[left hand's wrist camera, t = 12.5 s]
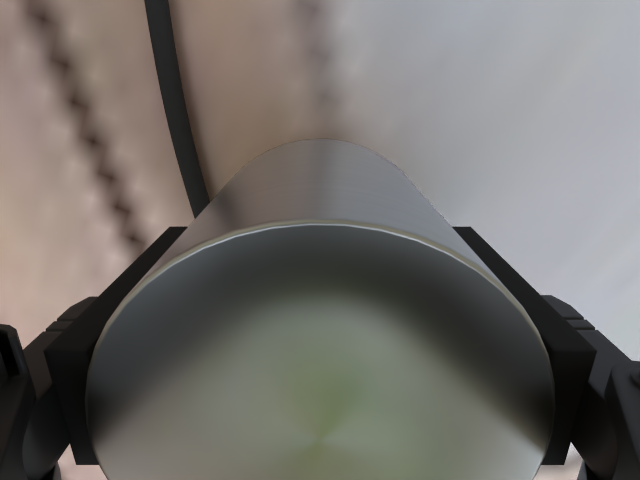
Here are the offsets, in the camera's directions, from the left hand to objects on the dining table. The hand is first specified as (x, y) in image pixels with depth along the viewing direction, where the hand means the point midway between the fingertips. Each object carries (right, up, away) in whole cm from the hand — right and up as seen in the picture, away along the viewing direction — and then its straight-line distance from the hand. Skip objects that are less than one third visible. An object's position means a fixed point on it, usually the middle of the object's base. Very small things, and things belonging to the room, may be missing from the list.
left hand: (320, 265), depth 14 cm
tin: (0, 0, +1) cm, 1 cm away
